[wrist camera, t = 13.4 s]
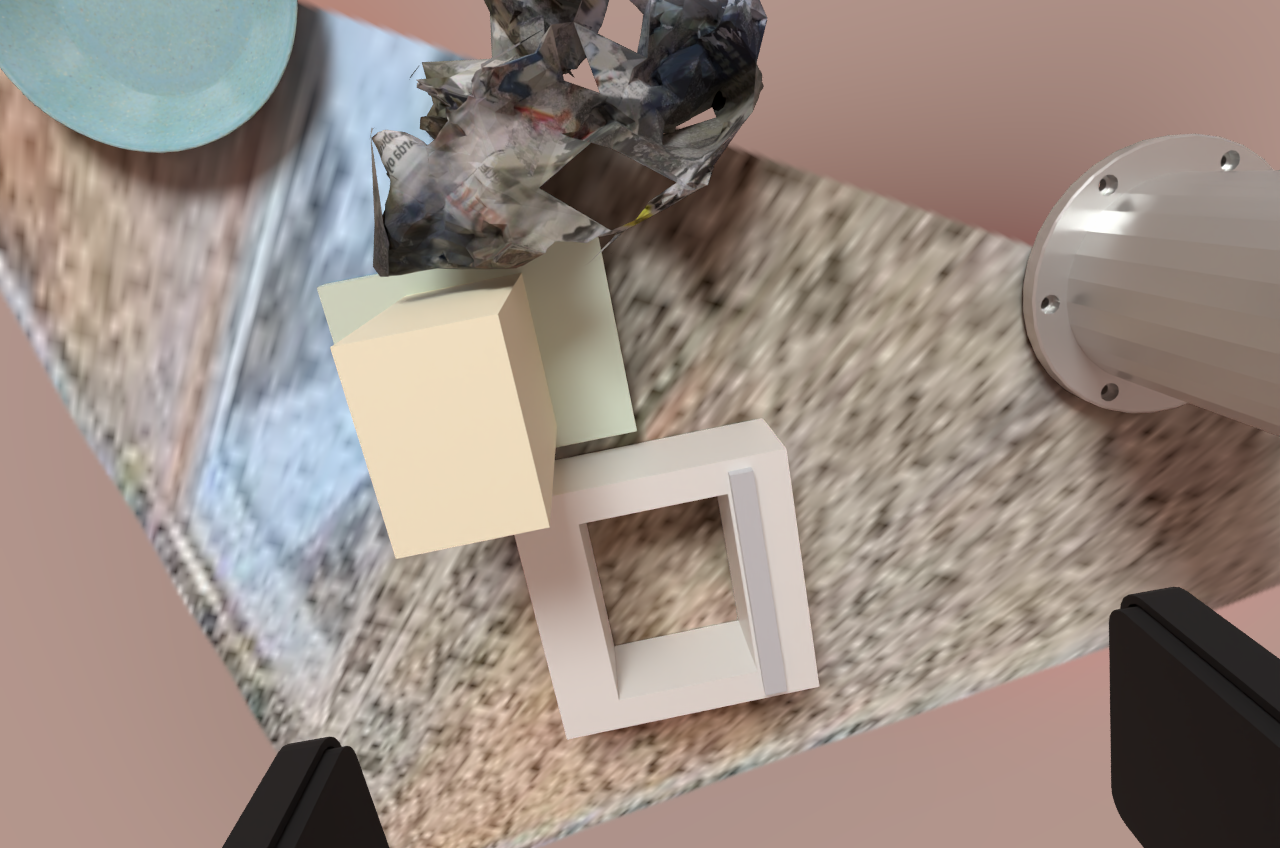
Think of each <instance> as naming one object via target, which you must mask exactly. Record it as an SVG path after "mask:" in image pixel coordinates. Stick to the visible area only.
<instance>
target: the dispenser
mask: <svg viewBox="0 0 1280 848" xmlns="http://www.w3.org/2000/svg"><path fill="white" fill-rule="evenodd" d="M715 496H717V498H718V503H719V509H720V515H721V521H722V527H723V533H724V539H725V545H726V551H727V556H728V562H729V568H730V574H731V580H732V586H733V592H734V598H735V604H736V609H737V615H738V621H733V622H728V623H723V624H718V625H713V626H709V627H704V628H699V629H694V630H689V631H685V632H680V633H675V634H670V635H665V636H660V637H656V638H651V639H646V640H641V641H636V642H632V643H627V644H622V645H617V646H614V642H613V638H612V633H611V629H610V624H609V620H608V615H607V611H606V607H605V602H604V598H603V593H602V589H601V585H600V580H599V576H598V571H597V567H596V562H595V558H594V554H593V549H592V545H591V540H590V536H589V532H588V527H587V523H588V522H593V521H598V520H602V519H607V518H612V517H617V516H622V515H627V514H632V513H637V512H642V511H647V510H651V509H656V508H661V507H666V506H671V505H676V504H681V503H686V502H691V501H695V500H700V499H705V498H710V497H715ZM514 536H515V539H516V543H517V547H518V551H519V555H520V559H521V563H522V567H523V570H524V574H525V578H526V582H527V586H528V590H529V594H530V598H531V601H532V605H533V609H534V613H535V617H536V621H537V625H538V629H539V632H540V636H541V640H542V644H543V648H544V652H545V656H546V660H547V664H548V667H549V671H550V675H551V679H552V683H553V687H554V691H555V695H556V698H557V702H558V706H559V710H560V714H561V718H562V722H563V726H564V729H565V733H566V737H567V739H572V738H577V737H581V736H586V735H591V734H596V733H601V732H605V731H610V730H615V729H620V728H624V727H629V726H634V725H639V724H644V723H648V722H653V721H658V720H663V719H667V718H672V717H677V716H682V715H687V714H691V713H696V712H701V711H706V710H710V709H715V708H720V707H725V706H729V705H734V704H739V703H744V702H749V701H753V700H758V699H763V698H768V697H772V696H777V695H782V694H787V693H792V692H796V691H801V690H806V689H811V688H815V687H819V680H818V673H817V666H816V659H815V651H814V644H813V637H812V630H811V623H810V615H809V608H808V601H807V594H806V587H805V579H804V572H803V565H802V558H801V550H800V543H799V536H798V529H797V522H796V514H795V507H794V500H793V493H792V486H791V478H790V471H789V464H788V457H787V450H786V447H785V446H784V445H783V444H782V442H781V441H780V440H779V438H778V437H777V436H776V435H775V433H774V432H773V431H772V430H771V428H770V427H769V426H768V424H767V423H766V422H765V421H764V419H763V418H761V419H756V420H751V421H746V422H741V423H736V424H731V425H726V426H722V427H717V428H712V429H707V430H702V431H697V432H692V433H687V434H682V435H677V436H672V437H667V438H662V439H657V440H652V441H648V442H643V443H638V444H633V445H628V446H623V447H618V448H613V449H608V450H603V451H598V452H593V453H588V454H583V455H578V456H574V457H569V458H564V459H559V460H555V462H554V476H553V489H552V503H551V517H550V527H549V528H544V529H539V530H534V531H529V532H524V533H520V534H515V535H514Z"/></svg>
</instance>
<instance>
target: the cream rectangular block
mask: <svg viewBox="0 0 1280 848" xmlns="http://www.w3.org/2000/svg"><path fill="white" fill-rule="evenodd" d="M330 348H331V352H332V355H333V358H334V361H335V364H336V368H337V371H338V374H339V377H340V380H341V384H342V387H343V390H344V393H345V397H346V400H347V403H348V406H349V409H350V413H351V416H352V419H353V422H354V425H355V429H356V432H357V435H358V438H359V442H360V445H361V448H362V451H363V454H364V458H365V461H366V464H367V467H368V470H369V474H370V477H371V480H372V483H373V486H374V490H375V493H376V496H377V499H378V503H379V506H380V509H381V512H382V515H383V519H384V522H385V525H386V528H387V531H388V535H389V538H390V541H391V544H392V548H393V551H394V554H395V557H396V559H397V558H402V557H407V556H412V555H417V554H422V553H427V552H432V551H437V550H441V549H446V548H451V547H456V546H461V545H466V544H471V543H476V542H480V541H485V540H490V539H495V538H500V537H505V536H510V535H515V534H520V533H524V532H529V531H534V530H539V529H544V528H549V527H550V517H551V503H552V489H553V476H554V462H555V448H556V434H557V424H556V420H555V415H554V411H553V407H552V402H551V398H550V393H549V389H548V385H547V380H546V376H545V372H544V367H543V363H542V359H541V354H540V350H539V346H538V341H537V337H536V333H535V328H534V324H533V320H532V315H531V311H530V307H529V302H528V298H527V294H526V289H525V285H524V280H523V276H522V273H517V274H512V275H507V276H502V277H497V278H492V279H487V280H482V281H477V282H472V283H467V284H462V285H457V286H452V287H447V288H442V289H436V290H431V291H426V292H421V293H416V294H411V295H406V296H404V297H403V298H402V299H400V300H399V301H397V302H396V303H394V304H393V305H391V306H390V307H388V308H387V309H386V310H384V311H383V312H381V313H380V314H378V315H377V316H375V317H374V318H372V319H371V320H369V321H368V322H367V323H365V324H364V325H362V326H361V327H359V328H358V329H356V330H355V331H353V332H352V333H350V334H349V335H348V336H346V337H345V338H343V339H342V340H340V341H339V342H337V343H336V344H334V345H333V346H331V347H330Z"/></svg>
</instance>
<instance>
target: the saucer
mask: <svg viewBox="0 0 1280 848" xmlns="http://www.w3.org/2000/svg"><path fill="white" fill-rule="evenodd" d="M297 1H298V0H0V68H1V70H2V71H3V72H4V73H5V75H6V76H7V77H8V78H9V79H10V80H11V81H12V83H13V84H14V85H15V86H16V87H17V88H18V89H19V90H21V91H22V93H23V95H25V96H26V97H27V98H28V99H29V100H30V101H31V102H32V103H33V104H34V105H35V106H37V107H39V108H40V109H41V110H42V111H43V112H44V113H46V114H47V115H49V116H50V117H52V118H53V119H55V120H56V121H58V122H60V123H61V124H63V125H65V126H66V127H68V128H70V129H72V130H74V131H75V132H77V133H80V134H82V135H84V136H86V137H89V138H91V139H93V140H95V141H99V142H101V143H104V144H108V145H110V146H114V147H118V148H122V149H128V150H134V151H141V152H153V153H166V152H178V151H182V150H187V149H192V148H197V147H200V146H203V145H206V144H209V143H212V142H213V141H216V140H218V139H221V138H222V137H224V136H226V135H228V134H230V133H231V132H233V131H234V130H236V129H237V128H239V127H241V125H243V124H244V123H246V122H247V121H248V120H250V119H251V118H252V117H253V116H254V115H255V114H256V113H257V112H258V111H259V110H260V109H261V108H262V106H263V105H264V104H265V103H266V102H267V101H268V100H269V98H270V96H271V95H272V93H273V92H274V91H275V89H276V87H277V85H278V84H279V82H280V80H281V78H282V75H283V73H284V71H285V69H286V67H287V64H288V61H289V59H290V55H291V52H292V47H293V44H294V39H295V32H296V24H297V11H298V3H297Z"/></svg>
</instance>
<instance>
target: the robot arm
mask: <svg viewBox="0 0 1280 848" xmlns="http://www.w3.org/2000/svg"><path fill="white" fill-rule="evenodd" d="M1099 182H1100V187H1098V186H1099ZM1043 299H1044V303H1043V304H1042V306H1041V303H1042V301H1043ZM1023 313H1024V319H1025V324H1026V329H1027V335H1028V337H1029V340H1030V342H1031V345H1032V347H1033V350H1034V352H1035V354H1036V357H1037V358H1038V360H1039V361H1040V363H1041V364H1042V365H1043V367H1044V368H1045V370H1046V371H1047V372H1048V374H1049V375H1050V376H1051V377H1052V378H1053V379H1054V380H1055V381H1056V382H1057V383H1059V384H1060V385H1061V386H1062V387H1063V388H1064V389H1065V390H1067V391H1068V392H1070V393H1072V394H1074V395H1076V396H1077V397H1079V398H1081V399H1083V400H1085V401H1087V402H1089V403H1092V404H1094V405H1096V406H1099V407H1101V408H1105V409H1109V410H1114V411H1120V412H1125V413H1153V412H1158V411H1163V410H1168V409H1173V408H1177V407H1180V406H1182V405H1185V404H1187V403H1189V404H1192V405H1195V406H1198V407H1200V408H1203V409H1206V410H1209V411H1211V412H1214V413H1217V414H1219V415H1222V416H1225V417H1228V418H1230V419H1233V420H1236V421H1239V422H1241V423H1244V424H1247V425H1250V426H1252V427H1255V428H1258V429H1260V430H1263V431H1266V432H1269V433H1271V434H1274V435H1277V436H1280V170H1273V169H1272V168H1271V167H1270V165H1269V164H1268V163H1267V162H1266V161H1265V160H1264V159H1263V158H1262V157H1260V156H1259V155H1257V154H1256V153H1254V152H1253V151H1251V150H1250V149H1248V148H1246V147H1245V146H1244V145H1241V144H1238V143H1236V142H1233V141H1230V140H1227V139H1225V138H1222V137H1217V136H1209V135H1200V134H1184V135H1168V136H1163V137H1158V138H1153V139H1148V140H1143V141H1140V142H1138V143H1135V144H1133V145H1130V146H1128V147H1125V148H1123V149H1120V150H1118V151H1116V152H1115V153H1113V154H1111V155H1110V156H1108V157H1106V158H1105V159H1103V160H1102V161H1100V162H1098V163H1097V164H1095V165H1094V166H1092V167H1091V168H1090V169H1089V170H1088V171H1087V172H1085V173H1084V174H1083V175H1082V176H1081V177H1080V178H1079V179H1078V180H1077V181H1075V182H1074V183H1073V184H1072V185H1071V186H1070V187H1069V188H1068V190H1067V191H1066V192H1065V193H1064V194H1063V196H1062V197H1061V198H1060V200H1059V201H1058V202H1057V203H1056V204H1055V206H1054V207H1053V208H1052V210H1051V211H1050V213H1049V215H1048V217H1047V219H1046V220H1045V222H1044V224H1043V225H1042V227H1041V229H1040V231H1039V232H1038V235H1037V237H1036V240H1035V243H1034V245H1033V248H1032V251H1031V253H1030V256H1029V259H1028V263H1027V269H1026V274H1025V279H1024V285H1023ZM1109 652H1110V718H1111V719H1110V722H1111V723H1110V724H1111V788H1112V795H1113V799H1114V802H1115V805H1116V808H1117V810H1118V812H1119V814H1120V816H1121V818H1122V820H1123V821H1124V823H1125V824H1126V826H1127V827H1128V828H1129V829H1130V831H1131V832H1132V833H1133V834H1134V836H1135V837H1136V838H1137V840H1138V841H1139V842H1140V843H1141V845H1142V846H1143V847H1144V848H1280V659H1279V658H1277V657H1276V656H1275V655H1273V654H1272V653H1271V652H1269V651H1268V650H1266V649H1265V648H1264V647H1262V646H1261V645H1260V644H1258V643H1257V642H1256V641H1254V640H1253V639H1252V638H1250V637H1249V636H1247V635H1246V634H1245V633H1243V632H1242V631H1241V630H1239V629H1238V628H1236V627H1235V626H1234V625H1232V624H1231V623H1230V622H1228V621H1227V620H1225V619H1224V618H1223V617H1221V616H1220V615H1219V614H1217V613H1216V612H1215V611H1213V610H1212V609H1211V608H1209V607H1208V606H1206V605H1205V604H1204V603H1202V602H1201V601H1200V600H1198V599H1197V598H1196V597H1194V596H1193V595H1191V594H1190V593H1189V592H1187V591H1186V590H1184V589H1182V588H1180V587H1170V588H1164V589H1159V590H1153V591H1147V592H1142V593H1136V594H1130V595H1127V596H1126V597H1124V598H1123V600H1122V603H1121V608H1120V609H1118V610H1114V611H1113V612H1112V613H1111V615H1110V619H1109ZM222 848H389V845H388V843H387V840H386V837H385V834H384V831H383V829H382V826H381V823H380V820H379V817H378V815H377V812H376V809H375V806H374V803H373V801H372V798H371V795H370V792H369V789H368V787H367V784H366V781H365V778H364V775H363V773H362V770H361V767H360V764H359V761H358V759H357V756H356V754H355V752H354V750H353V749H352V748H351V747H350V746H344V747H341V745H340V743H339V741H338V740H337V739H336V738H334V737H325V738H319V739H314V740H308V741H302V742H297V743H291V744H287V745H285V746H283V747H282V748H281V750H280V751H279V752H278V754H277V755H276V757H275V759H274V761H273V762H272V764H271V766H270V767H269V769H268V771H267V773H266V774H265V776H264V777H263V779H262V781H261V783H260V784H259V786H258V788H257V789H256V791H255V793H254V794H253V796H252V798H251V800H250V801H249V803H248V805H247V806H246V808H245V810H244V812H243V813H242V815H241V816H240V818H239V820H238V822H237V823H236V825H235V827H234V828H233V830H232V832H231V833H230V835H229V837H228V838H227V840H226V842H225V844H224V845H223V847H222Z"/></svg>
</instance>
